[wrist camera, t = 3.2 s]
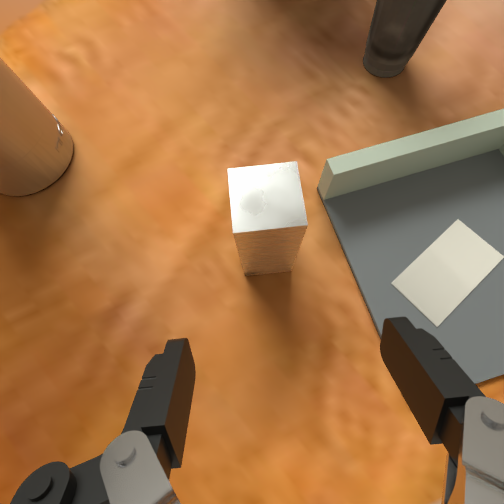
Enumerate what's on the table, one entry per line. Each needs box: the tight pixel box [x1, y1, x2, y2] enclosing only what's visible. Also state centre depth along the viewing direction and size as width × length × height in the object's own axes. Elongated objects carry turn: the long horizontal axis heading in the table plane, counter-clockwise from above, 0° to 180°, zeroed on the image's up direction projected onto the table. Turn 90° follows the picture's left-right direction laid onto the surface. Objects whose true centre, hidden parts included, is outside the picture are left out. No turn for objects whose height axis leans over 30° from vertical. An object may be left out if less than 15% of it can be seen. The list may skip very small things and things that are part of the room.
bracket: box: [228, 161, 308, 276], centre depth 21 cm, size 8×4×10 cm, turn 6°
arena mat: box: [317, 149, 504, 384], centre depth 24 cm, size 19×19×1 cm
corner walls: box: [317, 109, 504, 200], centre depth 23 cm, size 19×19×4 cm
